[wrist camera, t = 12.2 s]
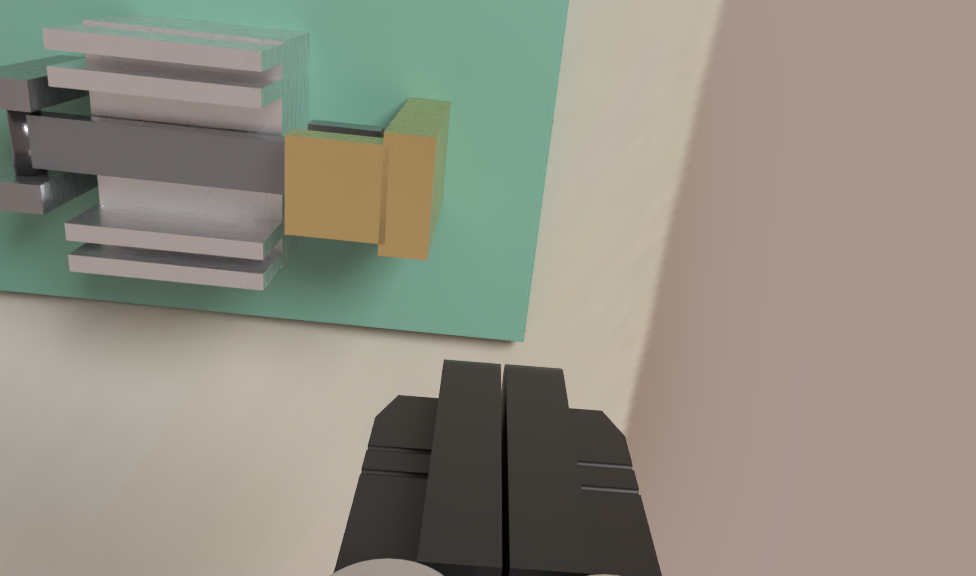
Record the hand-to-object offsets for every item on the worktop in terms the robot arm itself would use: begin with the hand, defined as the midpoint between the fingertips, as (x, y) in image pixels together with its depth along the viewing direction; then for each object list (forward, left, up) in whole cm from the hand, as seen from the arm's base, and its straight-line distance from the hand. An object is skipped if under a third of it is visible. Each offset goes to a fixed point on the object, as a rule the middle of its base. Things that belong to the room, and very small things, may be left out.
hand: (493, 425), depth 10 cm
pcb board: (+1, -10, -23) cm, 25 cm away
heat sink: (+1, -12, -22) cm, 25 cm away
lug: (+1, -4, -22) cm, 22 cm away
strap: (+1, -10, -18) cm, 20 cm away
